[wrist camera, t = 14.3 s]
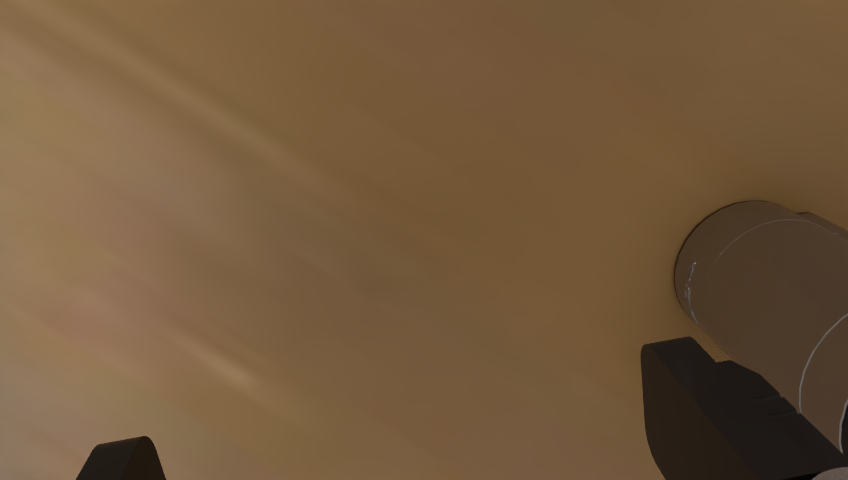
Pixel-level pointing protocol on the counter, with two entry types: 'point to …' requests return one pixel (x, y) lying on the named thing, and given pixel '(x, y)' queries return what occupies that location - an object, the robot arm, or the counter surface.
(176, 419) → the counter surface
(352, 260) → the counter surface
